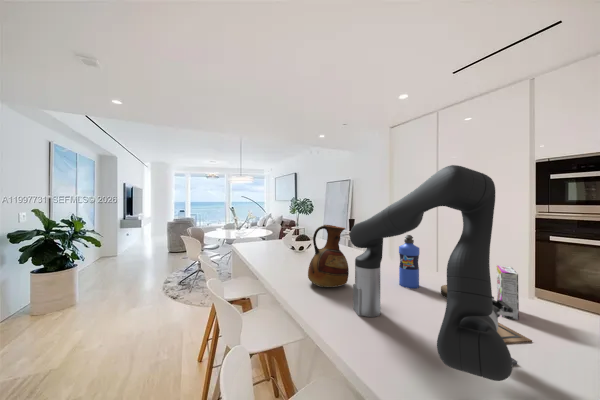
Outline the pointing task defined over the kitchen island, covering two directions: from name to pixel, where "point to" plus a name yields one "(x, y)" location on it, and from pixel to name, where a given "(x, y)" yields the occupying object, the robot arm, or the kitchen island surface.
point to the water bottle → (409, 264)
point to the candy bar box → (508, 288)
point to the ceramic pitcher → (329, 260)
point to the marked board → (511, 335)
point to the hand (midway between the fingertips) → (479, 296)
